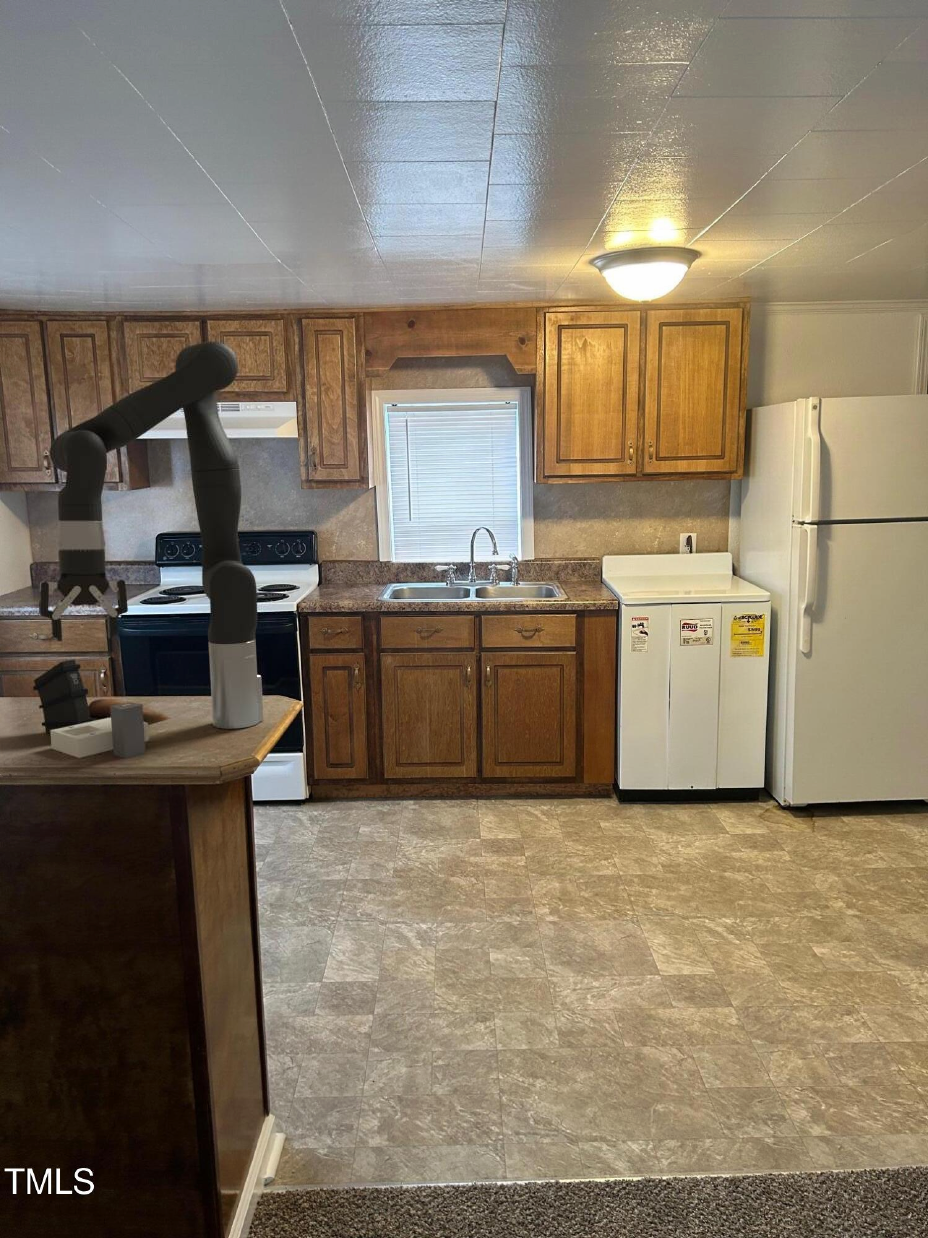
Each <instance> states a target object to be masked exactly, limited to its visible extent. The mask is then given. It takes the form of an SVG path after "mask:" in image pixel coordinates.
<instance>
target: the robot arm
mask: <svg viewBox="0 0 928 1238" xmlns="http://www.w3.org/2000/svg"><path fill="white" fill-rule="evenodd" d="M236 356H237V355H236V354H235V353H234V351H233V350H232V349H231V348H230V346H228V345H227V344H226V343H222V342H219V341H212V340H211V341H210V340H208V341H204V342H200V343H197V344H196V343H195V344H192V345H189V346H186V347H184V348H183V349H182V350H180V351H179V353H178V354H177V356H176V359H175V365H174V367H175V368H174V371H173V372H171V373H170V374H168V375H166V376H164V377H163V378H161V379H158V380H157V381H155V382H152V383H150V384H148V385H146V386H144V387H142V388H139V389H137V390H136V391H133V392H131V393H129V394H128V395H126V396H124V397H123V398H120V399H119V400H117V401H116V402H114V403H113V404H111V405H110V406H108V407H106V408H105V409H103V410H102V411H101V412H99V413H98V414H97V415H95V416H93V417H91V418H90V419H87V420H85V421H83V422H81V423H79V424H76V425H75V426H73V427H71V428H69V429H67V430H65V431H64V432H62V433H60V434H59V435H58V436H56V437H55V438H54V439H53V441H52V442H51V445H50V446H49V457H50V461H51V462H52V464H53V466H55V468H56V469H58V470H59V471H61V472H63V473H66V477H65V483H64V484H65V485H64V486H63V487H62V488H61V489H60V490H59V491H58V495H57V496H58V497H57V510H58V511H57V512H58V515H57V516H58V528H57V550H58V553H57V554H58V572H59V575H58V576H59V577H58V580H57V582H55V581H54V582H51V581H45V580H43V581H40V582H39V593H38V595H39V597H38V602H39V603H38V613H39V615H40V616H42V617H44V618H48V619H50V621H51V623H50V624H51V635H52V636H51V637H52V638H54V639H55V640H56V641H57V642H62V641H63V634H62V633H63V632H62V631H63V629H62V620H61V618H60V617H62V615H63V614H64V612H65V611H66V610H67V609H68V607H69V606H70V605H73V606H83V605H87V606H94V605H96V604H98V605H99V606H100V607H101V608H102V609H103V610H104V611H105V612H106V614H107V615H108V616H107V617H106V622H107V638H108V639H114V638H115V635H118V617H119V616H120V615H122V614H126V613H127V612H128V611H129V609H128V607H129V605H128V598H127V588H126V581H125V580H124V579H121V578H119V579H116V580H108V578H107V573H106V570H107V569H106V551H105V550H106V541H105V531H104V526H103V508H102V507H103V505H102V504H103V503H102V493H103V490H104V485H105V479H106V473H107V464H108V453H110V452H111V451H115V450H119V449H122V448H123V447H126V446H127V445H129V444H131V443H132V442H134V441H136V440H137V439H139V438H140V437H141V436H143V435H144V434H146V433H147V432H148V431H150V430H152V429H153V428H155V427H156V426H157V425H159V424H160V423H162V422H163V421H165V420H166V419H168V418H169V417H171V416H172V415H173V414H175V413H177V412H178V411H180V410H182V411H183V415H184V421H185V428H186V429H185V430H186V437H187V445H188V452H189V462H190V472H191V473H190V474H191V481H192V490H193V497H194V502H195V509H196V516H197V522H198V527H199V533H200V538H201V539H200V540H201V559H202V561H201V565H202V566H201V568H202V569H201V570H202V571H201V583H202V589H203V592H204V594H205V596H207V598H208V599H209V608H210V613H209V614H210V623H209V627H208V630H207V639H208V640H207V641H208V655H209V675H210V676H209V677H210V691H211V694H210V695H211V709H212V712H211V713H212V725H213V727H215V728H217V729H218V728H219V729H229V730H230V729H232V730H233V729H243V728H248V727H253V726H256V725H257V724H259V723H260V722H264V706H263V705H264V703H263V701H264V699H263V685H262V684H263V682H262V681H263V680H262V676H261V675H260V674H258V666H257V664H258V663H257V662H258V661H257V645H256V630H257V625H258V593H257V582H256V577H255V576H254V573H253V571H251V569H250V568H249V567H248V566H246V565H244V564H243V561H242V556H241V550H240V545H239V534H238V533H239V521H240V514H241V506H242V482H241V475H240V466H239V465H240V464H239V459H238V456H237V454H236V451H235V450H234V447H233V445H232V443H231V441H230V440H229V437H228V436H227V434H226V432H225V430H224V427H223V425H222V422H221V420H220V415H219V408H218V399H217V398H218V396H217V392H218V391H222V390H225V389H226V388H228V387H229V386H231V385H232V384H233V383H234V381H235V379H236V378H237V374H238V371H239V363H238V358H237V357H236ZM109 587H110V588H111V589H112V592H114V593H116V597H117V598H116V599H117V607H113V606H112V605H111V603H110V602H109V601H108V600H107V599H106V597H105V596H104V595H105V594H106V592H107V590H108V589H109ZM56 589H57V590H58V591H59V593H60V594H61V595H62V598H61V599H60V600H59V602H58V603H57V605H56V606H55V607H54V609H53V610H49V595H52V594H53V593H54V591H55V590H56Z"/></svg>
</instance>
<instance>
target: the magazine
mask: <svg viewBox="0 0 928 1238" xmlns="http://www.w3.org/2000/svg"><path fill="white" fill-rule="evenodd" d="M81 668H82V667H81V664H80V663H77V662H76V660H75V659H71V660H65V661H60V662H59V663H57V664H56V665H55V666H53V667H51V668H50V669H48V670H46V672H44V673H42V674H41V675H40V676H38V677H36V678H34V680H33V683H34V686H32V688H33V689H32V690H33V691H37V693H38V697H39V700H40V703H41V704H39V705H38V709H39V710H40V709H42V713H43V719H44V722H41V727H44V728H45V733H46V734H50V735H51V733H50V730H54V729H59V728H64V727H68V726H73V725H78V724H82V723H87V722H92V721H94V718H93V717H91V716H90V715H89V708H88V706H89V704H88V699H87V695H88V694H89V689H88V688H85V687H84V683H83V679H82V676H81V673H80V669H81Z"/></svg>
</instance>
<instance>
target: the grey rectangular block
mask: <svg viewBox="0 0 928 1238" xmlns="http://www.w3.org/2000/svg"><path fill="white" fill-rule="evenodd" d="M127 702H128V703H123V704H118V705H113V706H110V711H111V725H112V739H113V755H114V756H117V757H121V758H123V759H129V758H131V757H132V758H133V757H137V756H140V755H144V754H146V742H145V736H144V721H143V707H144V705H143V704H142V705H143V706H142V705H140V704H141V703H140V704H136V703H137V702H134V703H133V701H132V702H131V701H127Z"/></svg>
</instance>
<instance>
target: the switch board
mask: <svg viewBox="0 0 928 1238" xmlns="http://www.w3.org/2000/svg"><path fill="white" fill-rule="evenodd" d="M149 732H150V731H149V725H148V723H146V722H144V736H145V743H146V742H149V741H150V736H149ZM50 733H51V734H50V743H51V749H52V750H54V751H58V752H59V753H60V752H61V753H63V754H66V755H69V756H72V757H75V758H78V759H79V758H80V759H81V758H83V757H88V756H93V755H97V754H100V753H105V752H108V751H112V750H113V739H112V725H111V717H110V718H108V717H105V718H102V719H98V720H97V719H96V720H93V721H92V722H87V723H82V724H78V725H73V726H68V727H64V728H59V729H54V730H50Z"/></svg>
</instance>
